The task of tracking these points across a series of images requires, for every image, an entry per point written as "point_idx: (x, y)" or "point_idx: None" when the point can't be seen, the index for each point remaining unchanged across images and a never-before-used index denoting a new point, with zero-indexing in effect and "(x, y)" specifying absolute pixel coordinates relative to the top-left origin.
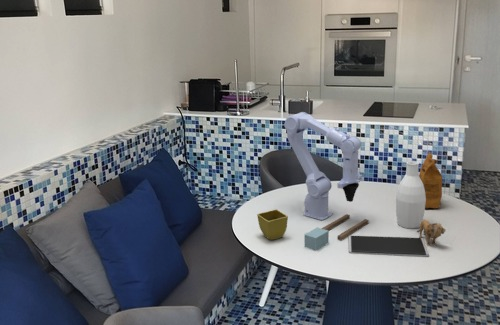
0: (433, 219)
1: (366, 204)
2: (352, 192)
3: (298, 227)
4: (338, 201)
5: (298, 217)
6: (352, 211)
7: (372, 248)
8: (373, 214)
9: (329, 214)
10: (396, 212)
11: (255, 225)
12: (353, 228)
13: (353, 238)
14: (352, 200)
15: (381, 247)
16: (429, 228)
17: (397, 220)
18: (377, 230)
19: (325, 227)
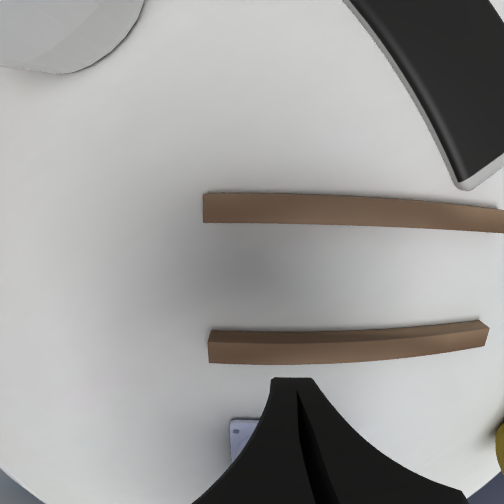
0: None
1: (14, 334)
2: (356, 455)
3: (440, 426)
4: (83, 442)
5: None
6: (116, 360)
7: (499, 38)
8: (70, 243)
9: (253, 428)
10: (84, 28)
11: (454, 488)
12: (400, 206)
13: (484, 150)
14: (284, 380)
15: (468, 4)
16: None
17: (108, 42)
18: (275, 88)
19: (452, 342)
